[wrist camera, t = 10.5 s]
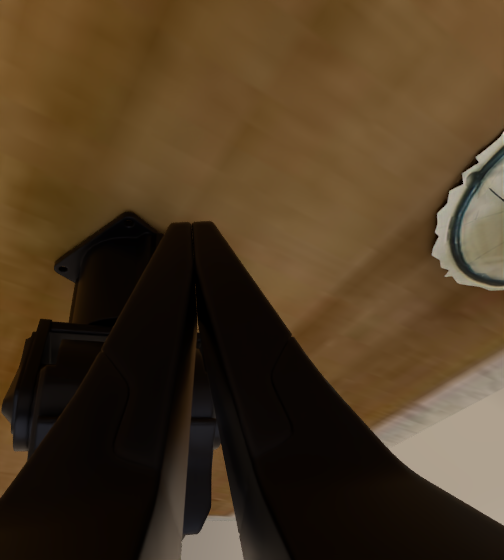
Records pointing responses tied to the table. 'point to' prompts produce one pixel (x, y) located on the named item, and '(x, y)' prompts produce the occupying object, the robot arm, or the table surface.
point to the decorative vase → (475, 224)
